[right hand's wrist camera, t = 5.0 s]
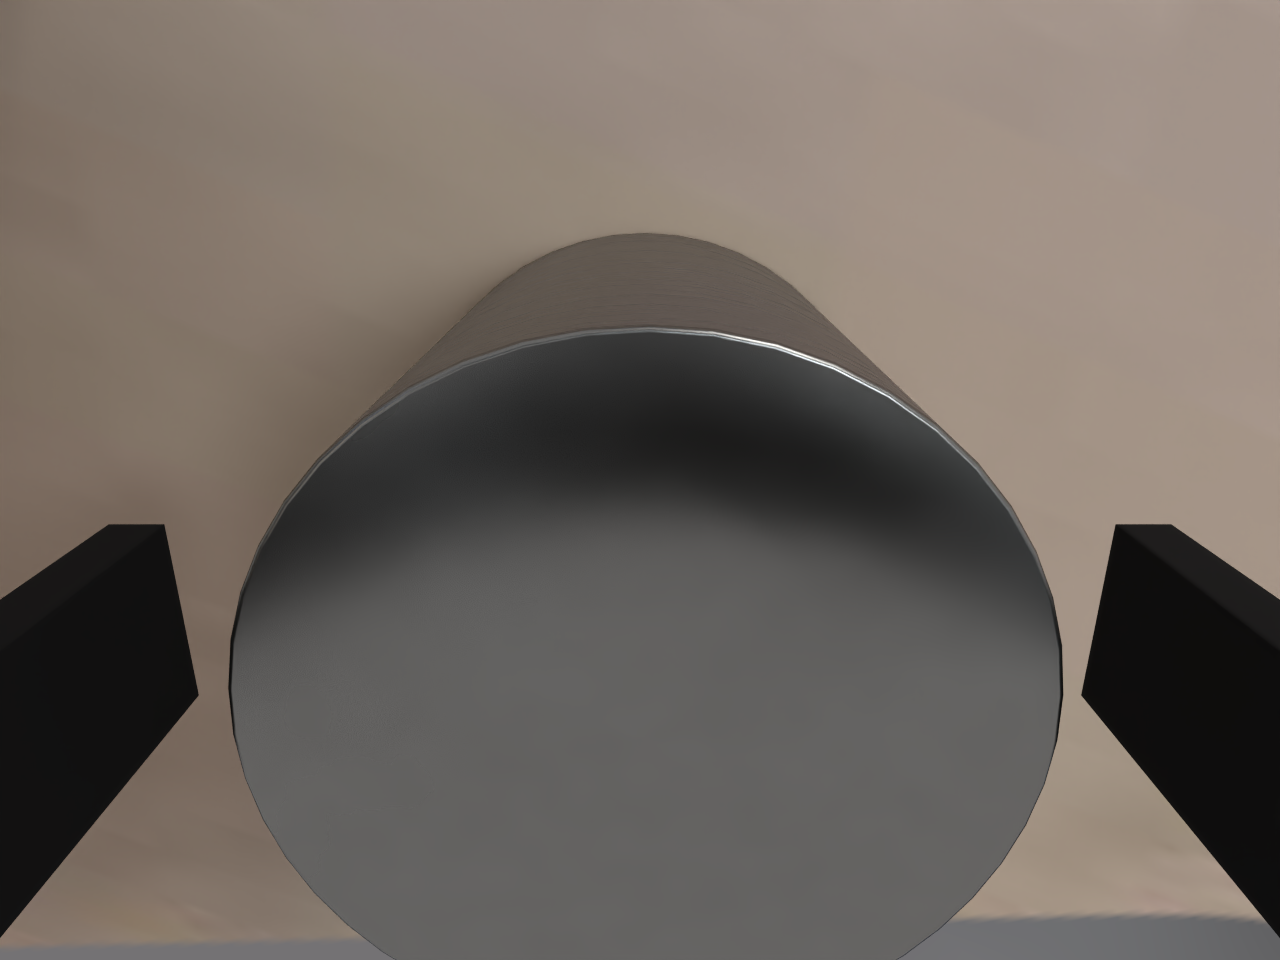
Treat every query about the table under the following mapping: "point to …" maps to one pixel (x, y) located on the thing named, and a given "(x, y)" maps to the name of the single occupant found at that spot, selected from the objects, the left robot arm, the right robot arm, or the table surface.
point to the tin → (645, 636)
